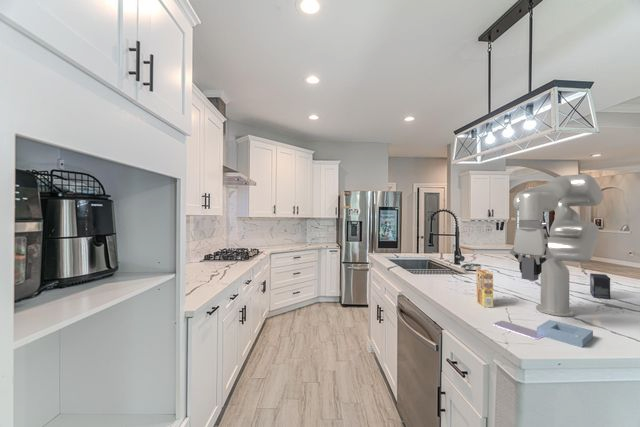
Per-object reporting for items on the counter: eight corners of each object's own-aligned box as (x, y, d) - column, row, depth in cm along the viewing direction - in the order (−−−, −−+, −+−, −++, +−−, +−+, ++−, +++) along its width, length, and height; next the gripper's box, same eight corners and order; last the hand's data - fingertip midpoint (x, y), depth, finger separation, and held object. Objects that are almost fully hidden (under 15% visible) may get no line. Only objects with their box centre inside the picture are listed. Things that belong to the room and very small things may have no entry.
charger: (526, 277, 113) (526, 256, 113) (538, 279, 109) (538, 257, 109) (521, 278, 111) (521, 257, 111) (533, 280, 107) (533, 258, 107)
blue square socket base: (549, 326, 108) (549, 319, 108) (592, 337, 98) (593, 329, 98) (536, 334, 101) (536, 326, 101) (582, 347, 91) (582, 338, 91)
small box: (589, 292, 153) (589, 272, 153) (606, 294, 149) (606, 274, 149) (592, 297, 144) (592, 276, 144) (611, 299, 140) (611, 278, 140)
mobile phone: (536, 338, 96) (490, 323, 109) (536, 341, 96) (490, 325, 109) (547, 333, 100) (502, 319, 113) (547, 336, 100) (502, 322, 113)
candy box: (493, 307, 129) (493, 273, 129) (483, 307, 129) (483, 272, 129) (485, 301, 138) (485, 269, 137) (475, 301, 138) (476, 269, 138)
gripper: (561, 225, 105) (561, 276, 105) (511, 224, 119) (511, 268, 119) (553, 226, 101) (552, 278, 101) (501, 224, 115) (501, 270, 115)
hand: (530, 272), depth 110 cm, fingers closed on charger, 4 cm apart
